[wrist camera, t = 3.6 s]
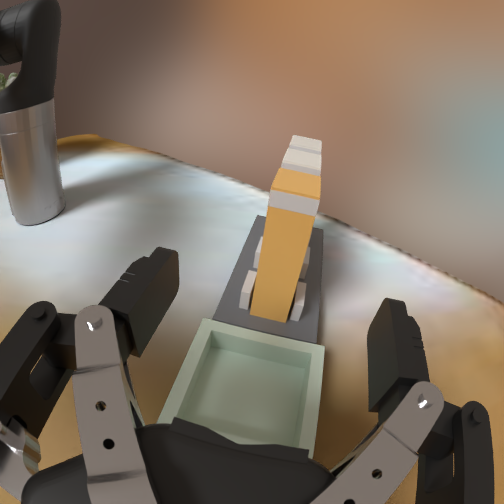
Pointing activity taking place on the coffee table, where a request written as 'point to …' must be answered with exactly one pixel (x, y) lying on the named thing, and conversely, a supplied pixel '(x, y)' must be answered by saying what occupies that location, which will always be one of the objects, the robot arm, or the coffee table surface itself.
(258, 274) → the block
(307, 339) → the fuse block
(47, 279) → the coffee table surface
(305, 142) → the end white fuse
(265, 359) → the tray
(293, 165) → the block
